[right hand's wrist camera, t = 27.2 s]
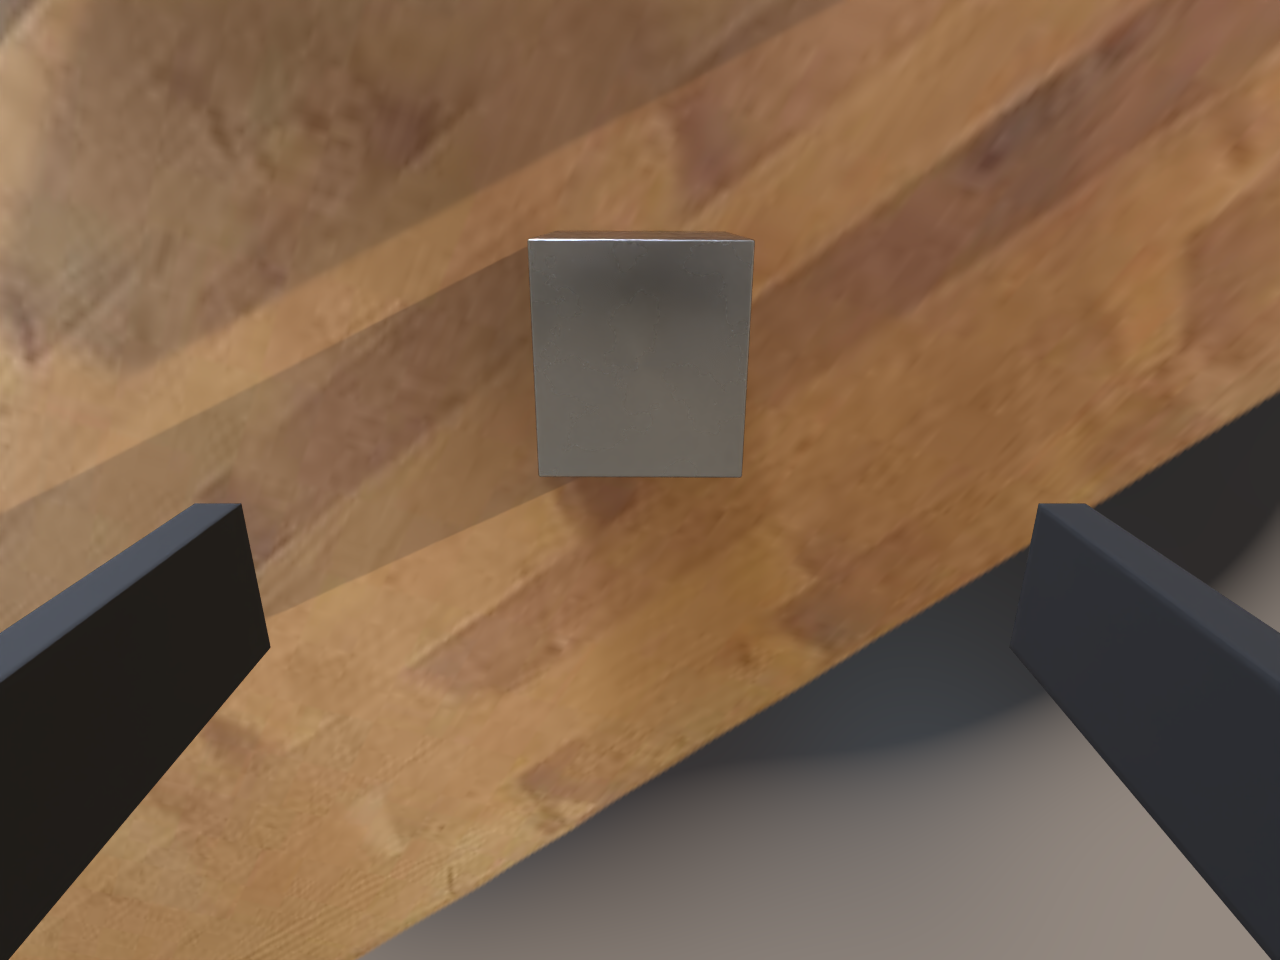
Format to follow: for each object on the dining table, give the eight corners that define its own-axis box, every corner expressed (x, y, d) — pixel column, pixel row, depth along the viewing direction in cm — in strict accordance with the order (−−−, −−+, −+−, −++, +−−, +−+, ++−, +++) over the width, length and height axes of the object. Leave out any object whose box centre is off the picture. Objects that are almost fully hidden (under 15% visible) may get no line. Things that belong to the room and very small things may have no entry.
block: (561, 415, 39) (538, 477, 30) (555, 230, 35) (527, 238, 27) (718, 416, 39) (742, 478, 30) (726, 231, 35) (755, 239, 27)
